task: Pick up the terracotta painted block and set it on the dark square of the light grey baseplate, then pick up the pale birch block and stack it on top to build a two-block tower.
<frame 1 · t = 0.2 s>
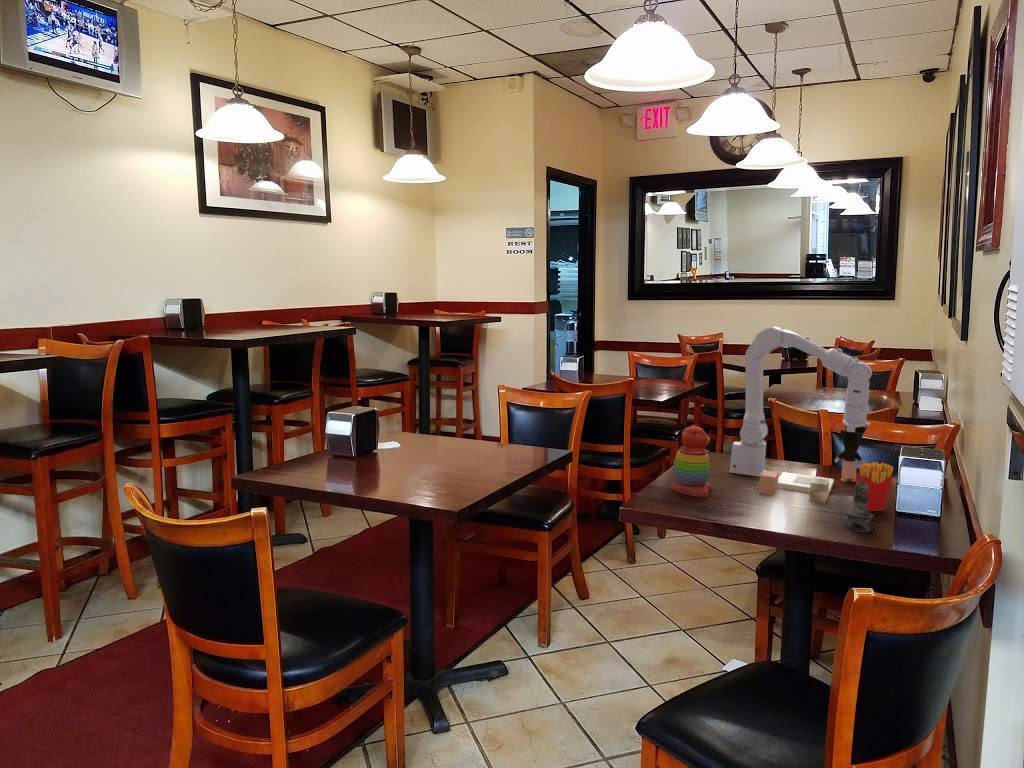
hand: (851, 453, 216), 10 cm above the table, fingers open, 7 cm apart
french fries: (871, 510, 197), on the table
stacking bear: (691, 491, 209), on the table
grey stone statuette: (857, 528, 181), on the table
birch brick: (818, 499, 205), on the table
grandmother figurine: (846, 482, 225), on the table
terracotta brick: (767, 491, 211), on the table
tower plate: (804, 485, 218), on the table
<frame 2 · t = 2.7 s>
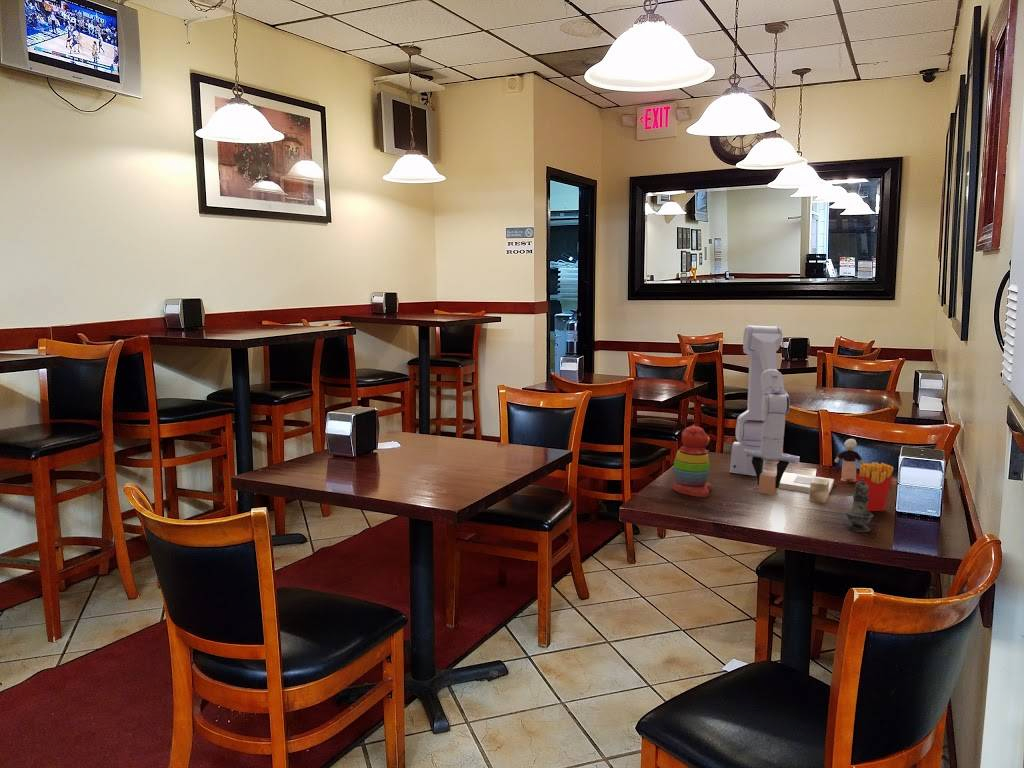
hand: (768, 486, 211), 1 cm above the table, fingers closed on terracotta brick, 4 cm apart
terracotta brick: (767, 491, 211), on the table, touching gripper
everything else where it was.
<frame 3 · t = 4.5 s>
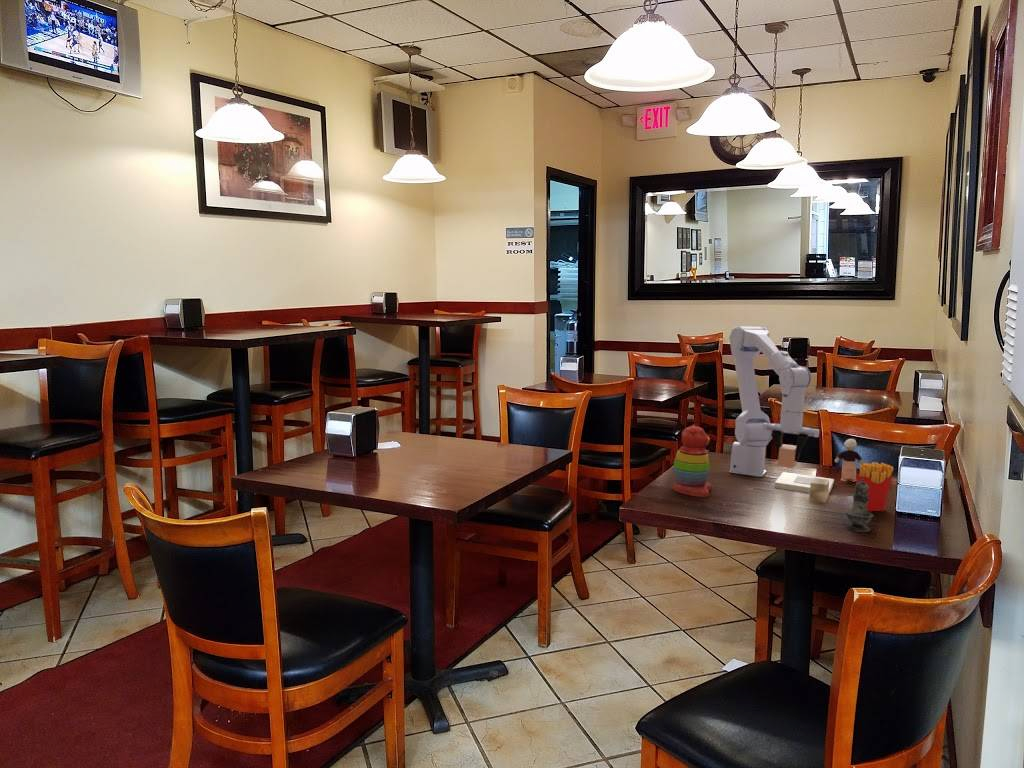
hand: (787, 459, 213), 8 cm above the table, fingers closed on terracotta brick, 4 cm apart
terracotta brick: (787, 464, 213), point 7 cm above the table, touching gripper
everything else where it was.
when the fingers open (4 cm above the table, at t = 6.2 s): terracotta brick stays where it is, resting on tower plate.
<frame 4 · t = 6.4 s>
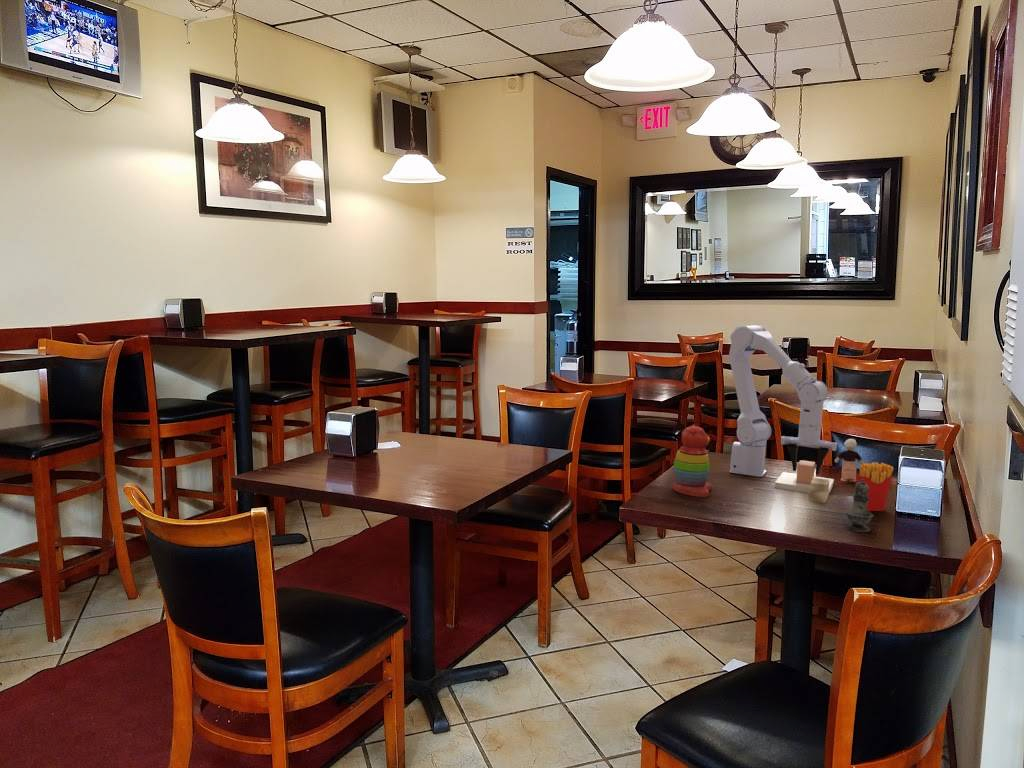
hand: (805, 472, 217), 4 cm above the table, fingers open, 5 cm apart
terracotta brick: (805, 480, 217), point 2 cm above the table, touching tower plate
everything else where it was.
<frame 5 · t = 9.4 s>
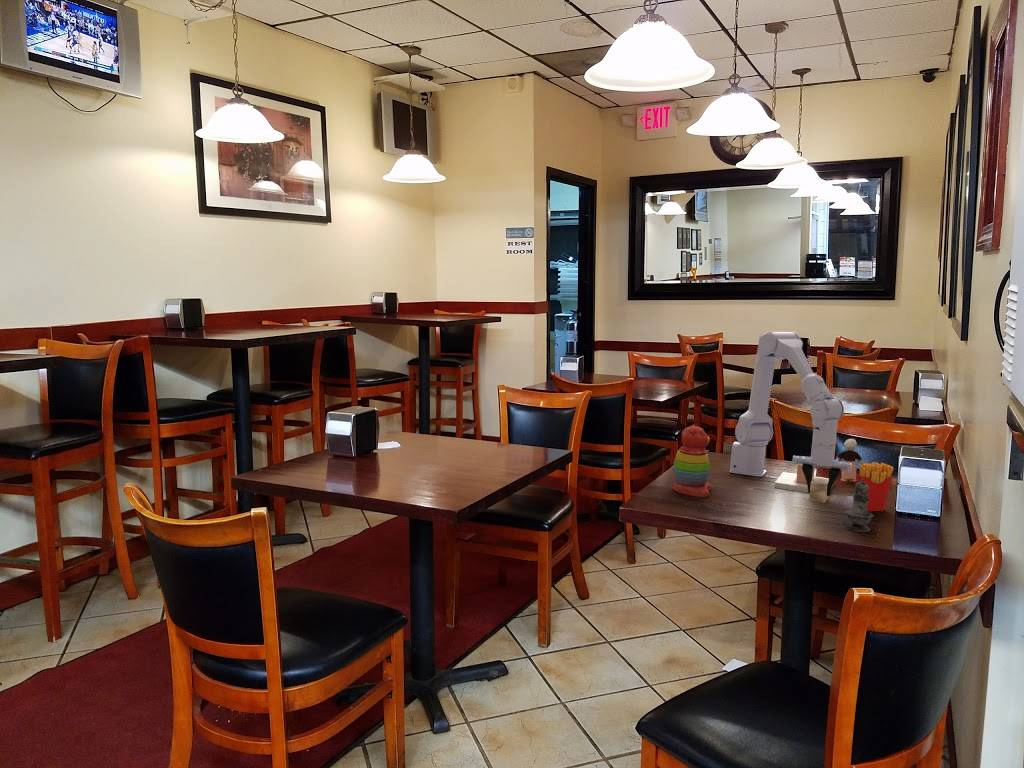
hand: (819, 493, 205), 1 cm above the table, fingers closed on birch brick, 4 cm apart
birch brick: (818, 499, 205), on the table, touching gripper
everything else where it was.
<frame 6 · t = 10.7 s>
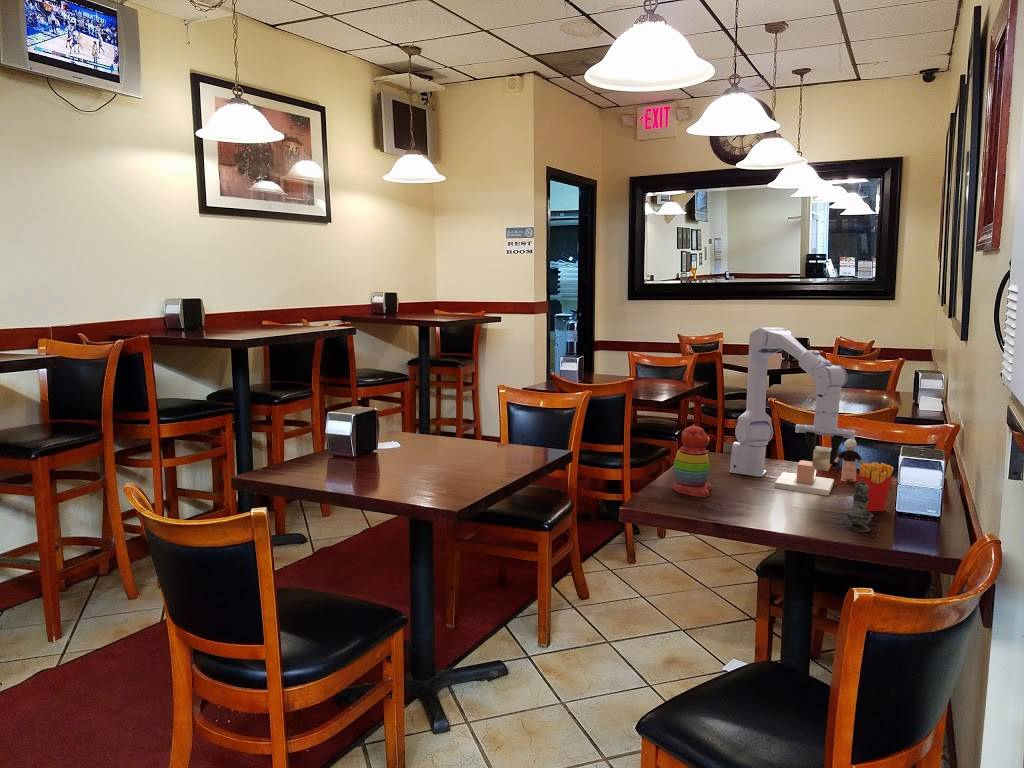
hand: (821, 462, 204), 10 cm above the table, fingers closed on birch brick, 4 cm apart
birch brick: (821, 467, 204), point 9 cm above the table, touching gripper
everything else where it was.
when the fingers open (9 cm above the table, at t = 12.4 s): birch brick stays where it is, resting on terracotta brick.
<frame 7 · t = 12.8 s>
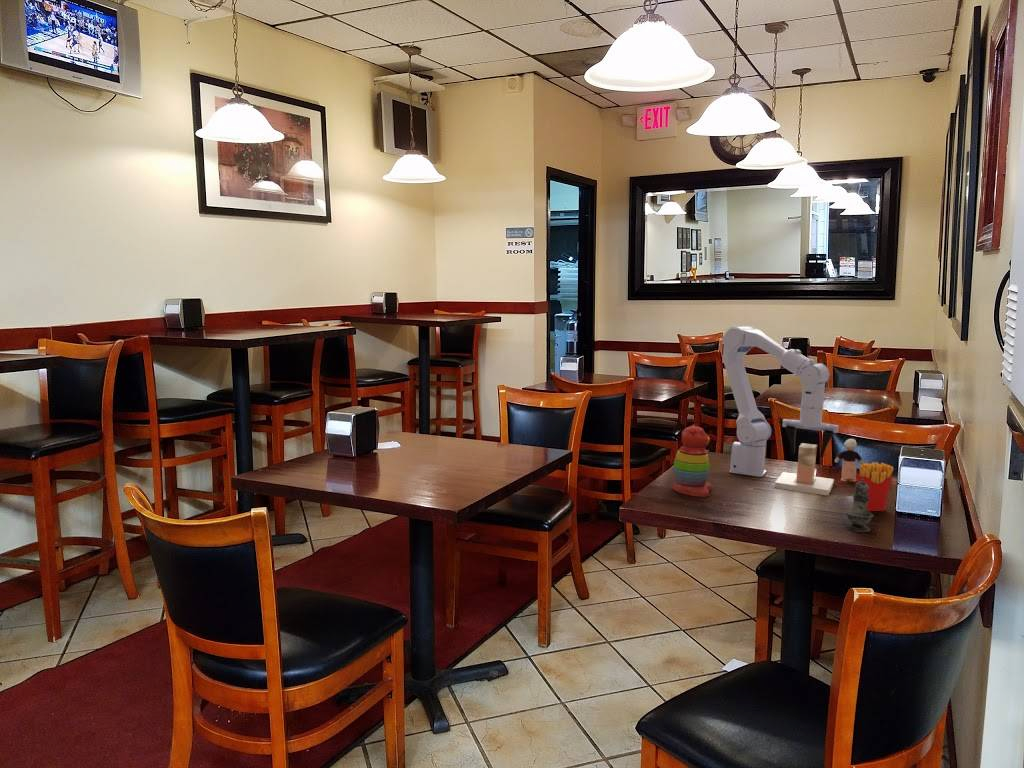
hand: (807, 454, 216), 9 cm above the table, fingers open, 7 cm apart
birch brick: (806, 463, 217), point 7 cm above the table, touching terracotta brick
terracotta brick: (805, 480, 217), point 2 cm above the table, touching birch brick, tower plate
everything else where it was.
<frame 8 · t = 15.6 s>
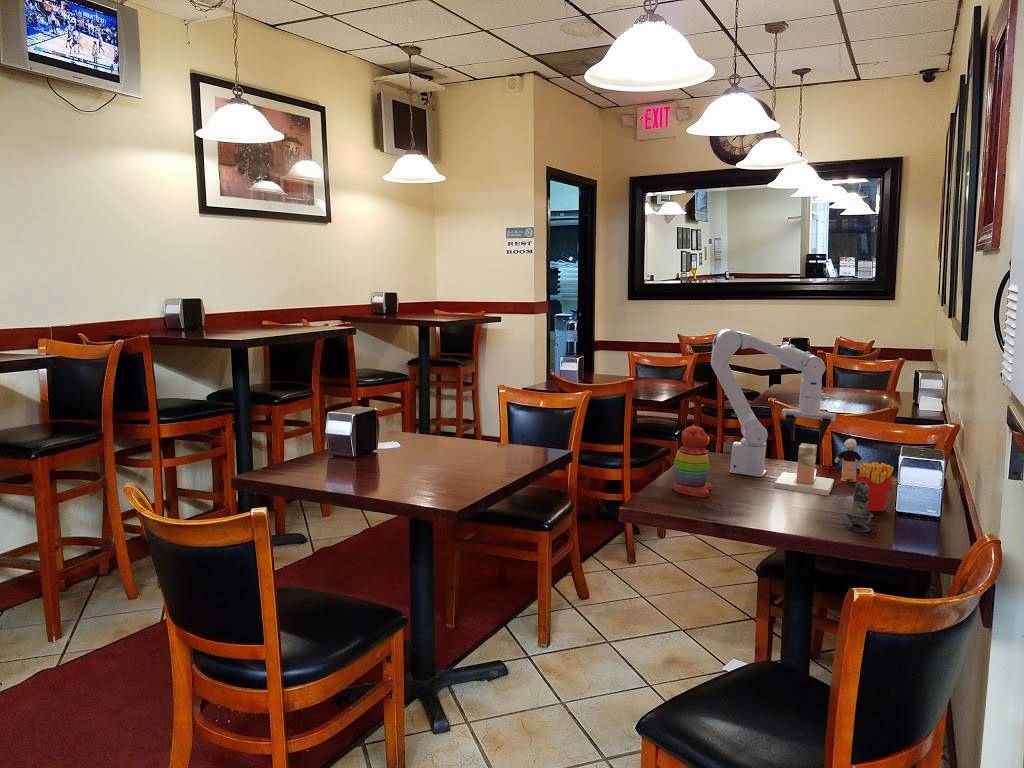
hand: (806, 442, 227), 10 cm above the table, fingers open, 7 cm apart
nothing on the table moved.
at the end: terracotta brick 0.1 cm off-centre on the tower plate, point 1.6 cm above the tower plate's base; birch brick 0.0 cm off-centre on the terracotta brick, point 5.0 cm above the terracotta brick's base; birch brick tilted 0° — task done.
